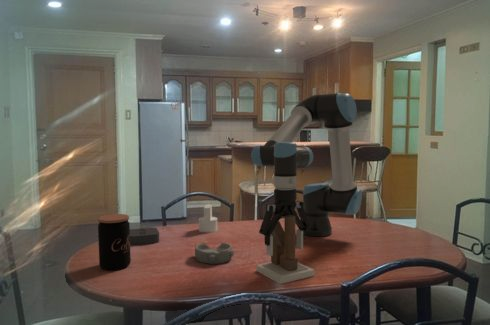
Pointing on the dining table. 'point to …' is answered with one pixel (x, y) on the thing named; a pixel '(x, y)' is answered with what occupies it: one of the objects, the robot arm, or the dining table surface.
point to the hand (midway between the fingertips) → (284, 251)
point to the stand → (284, 272)
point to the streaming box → (144, 236)
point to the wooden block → (284, 244)
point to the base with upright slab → (208, 221)
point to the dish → (213, 253)
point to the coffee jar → (114, 242)
